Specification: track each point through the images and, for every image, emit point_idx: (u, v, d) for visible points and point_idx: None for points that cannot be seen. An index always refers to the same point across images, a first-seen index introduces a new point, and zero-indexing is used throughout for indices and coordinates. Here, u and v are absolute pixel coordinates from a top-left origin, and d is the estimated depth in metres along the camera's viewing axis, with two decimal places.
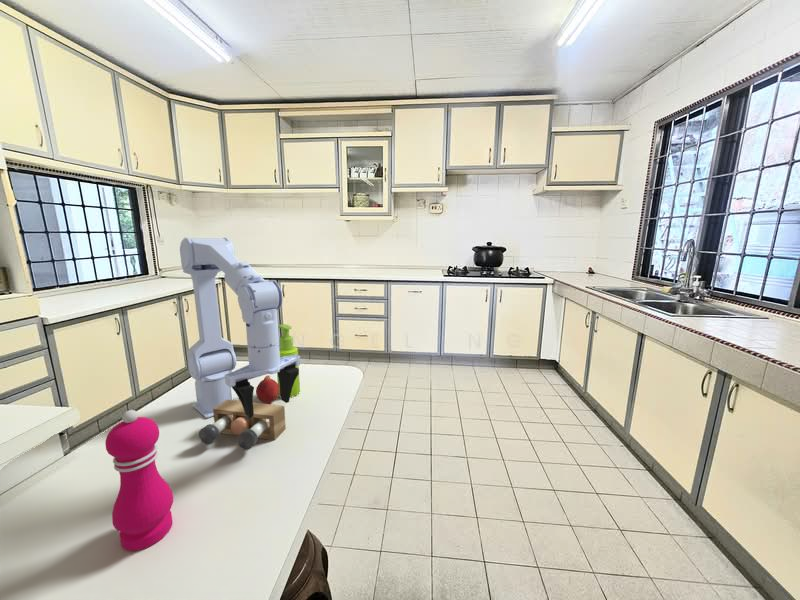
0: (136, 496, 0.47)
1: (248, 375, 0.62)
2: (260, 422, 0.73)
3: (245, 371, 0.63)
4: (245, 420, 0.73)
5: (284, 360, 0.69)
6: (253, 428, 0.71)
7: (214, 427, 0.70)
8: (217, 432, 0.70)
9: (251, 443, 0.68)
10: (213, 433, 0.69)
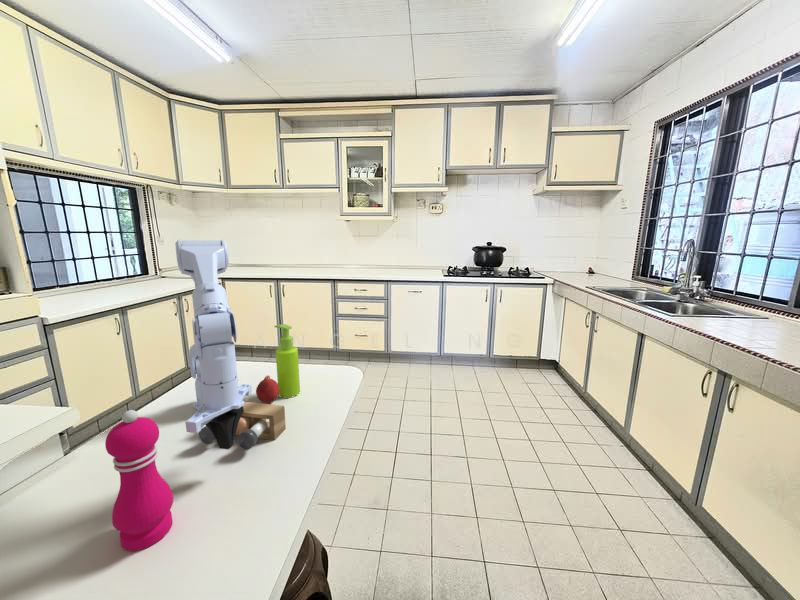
0: (136, 496, 0.47)
1: (214, 415, 0.57)
2: (260, 422, 0.73)
3: (206, 412, 0.57)
4: (245, 420, 0.73)
5: None
6: (253, 428, 0.71)
7: None
8: None
9: (251, 443, 0.68)
10: None
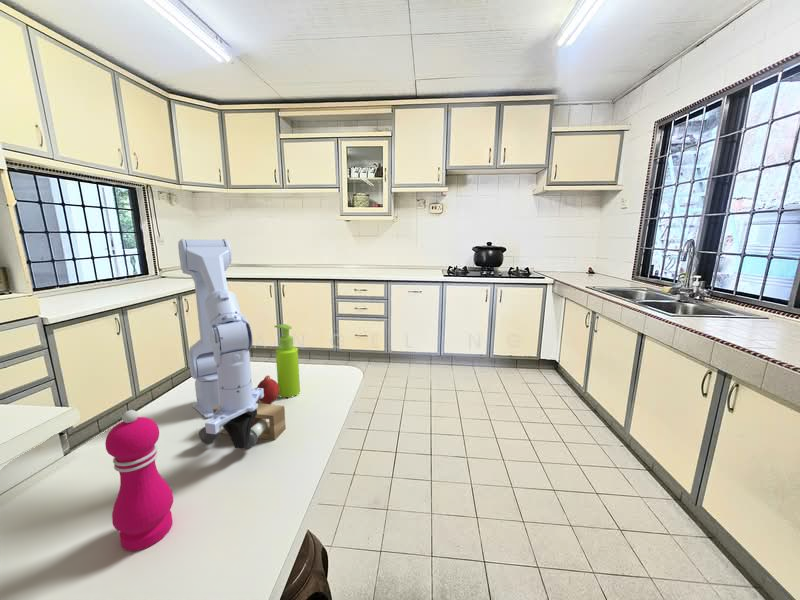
0: (136, 496, 0.47)
1: (230, 417, 0.61)
2: (260, 422, 0.73)
3: (223, 414, 0.61)
4: None
5: None
6: (253, 428, 0.71)
7: None
8: None
9: (251, 443, 0.68)
10: None
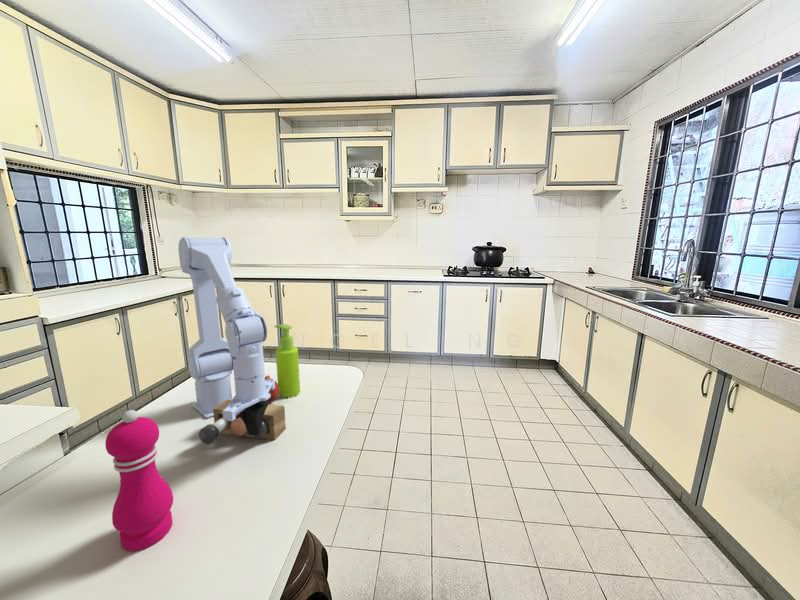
0: (136, 496, 0.47)
1: (246, 406, 0.65)
2: None
3: (239, 403, 0.66)
4: None
5: None
6: None
7: (214, 427, 0.70)
8: (217, 432, 0.70)
9: (263, 432, 0.72)
10: (213, 433, 0.69)
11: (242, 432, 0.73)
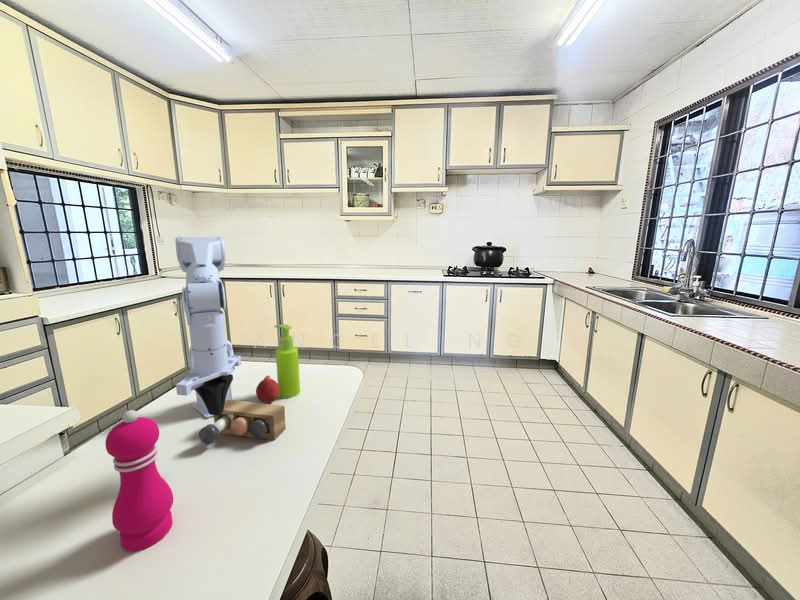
0: (136, 496, 0.47)
1: (203, 380, 0.59)
2: None
3: (196, 377, 0.59)
4: (245, 420, 0.73)
5: None
6: None
7: (214, 427, 0.70)
8: (217, 432, 0.70)
9: (263, 432, 0.72)
10: (213, 433, 0.69)
11: (242, 432, 0.73)
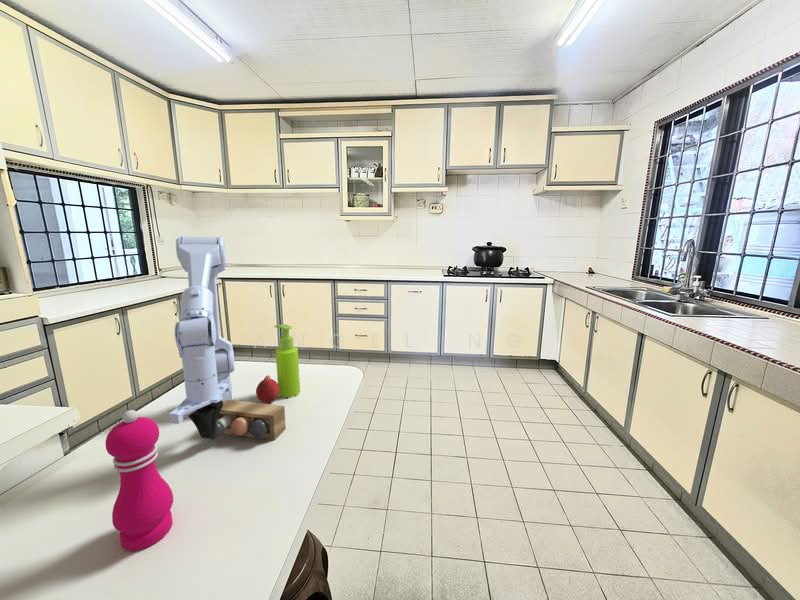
0: (136, 496, 0.47)
1: (194, 408, 0.64)
2: None
3: (188, 406, 0.65)
4: (245, 420, 0.73)
5: (218, 388, 0.72)
6: None
7: (219, 423, 0.72)
8: (222, 428, 0.72)
9: (263, 432, 0.72)
10: (218, 429, 0.71)
11: (242, 432, 0.73)
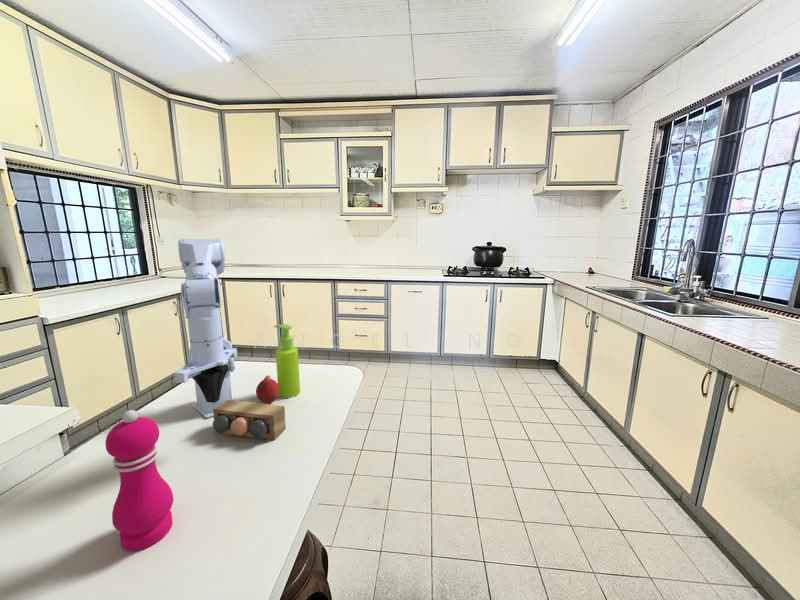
0: (136, 496, 0.47)
1: (200, 369, 0.64)
2: None
3: (193, 367, 0.64)
4: (245, 420, 0.73)
5: (223, 353, 0.72)
6: None
7: (227, 417, 0.74)
8: (230, 422, 0.74)
9: (263, 432, 0.72)
10: (226, 423, 0.73)
11: (242, 432, 0.73)
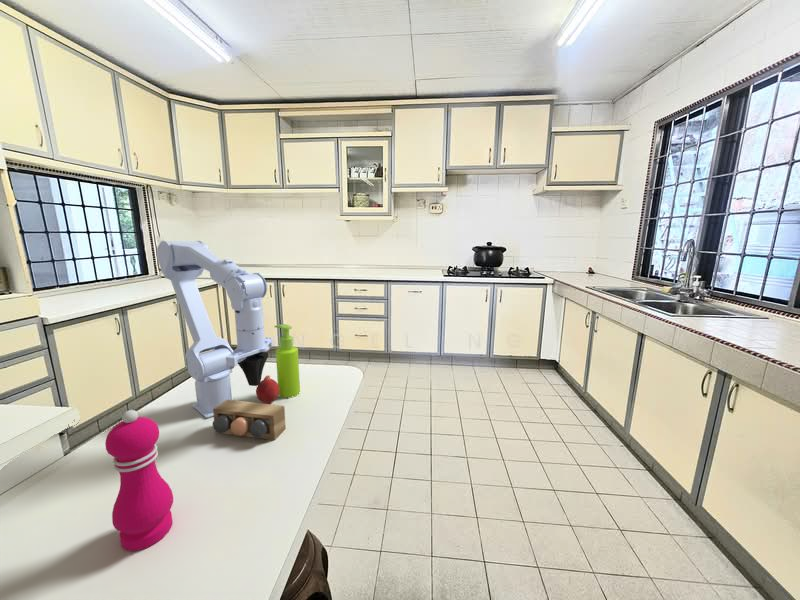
0: (136, 496, 0.47)
1: (247, 355, 0.72)
2: None
3: (240, 353, 0.72)
4: (245, 420, 0.73)
5: None
6: None
7: (227, 417, 0.74)
8: (230, 422, 0.74)
9: (263, 432, 0.72)
10: (226, 423, 0.73)
11: (242, 432, 0.73)
